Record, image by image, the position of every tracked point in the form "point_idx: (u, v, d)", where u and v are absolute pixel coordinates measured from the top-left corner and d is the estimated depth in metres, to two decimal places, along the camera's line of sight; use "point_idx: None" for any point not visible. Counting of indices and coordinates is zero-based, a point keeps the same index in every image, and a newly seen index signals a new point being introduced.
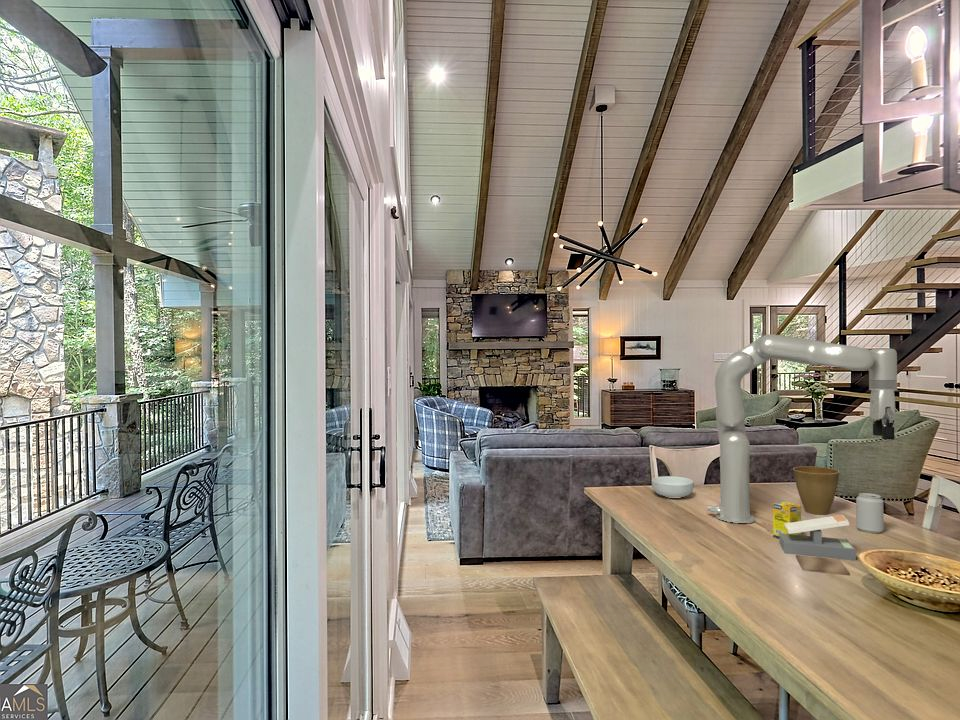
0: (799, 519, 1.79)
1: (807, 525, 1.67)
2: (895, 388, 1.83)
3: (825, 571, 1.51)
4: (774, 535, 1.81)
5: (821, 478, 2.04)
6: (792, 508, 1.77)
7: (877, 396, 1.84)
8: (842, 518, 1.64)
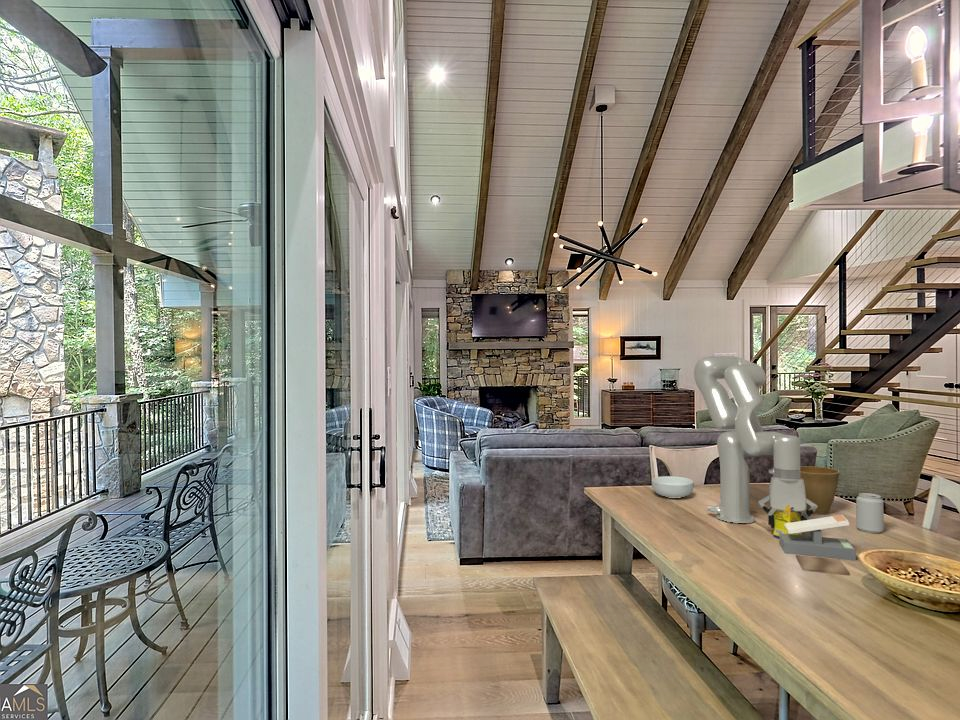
0: (799, 519, 1.78)
1: (807, 525, 1.67)
2: None
3: (825, 571, 1.51)
4: (774, 535, 1.81)
5: (821, 478, 2.04)
6: (792, 508, 1.77)
7: (801, 487, 1.77)
8: (842, 518, 1.64)
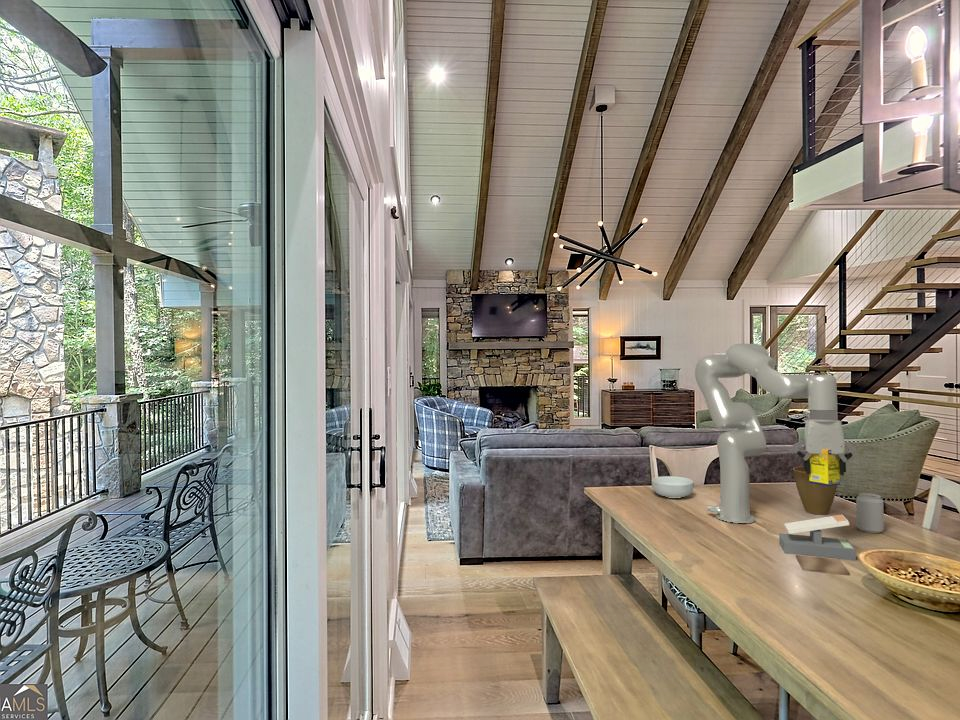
0: (837, 463, 1.68)
1: (807, 525, 1.67)
2: None
3: (825, 571, 1.51)
4: (810, 481, 1.70)
5: None
6: (830, 451, 1.67)
7: (839, 428, 1.66)
8: (842, 518, 1.64)
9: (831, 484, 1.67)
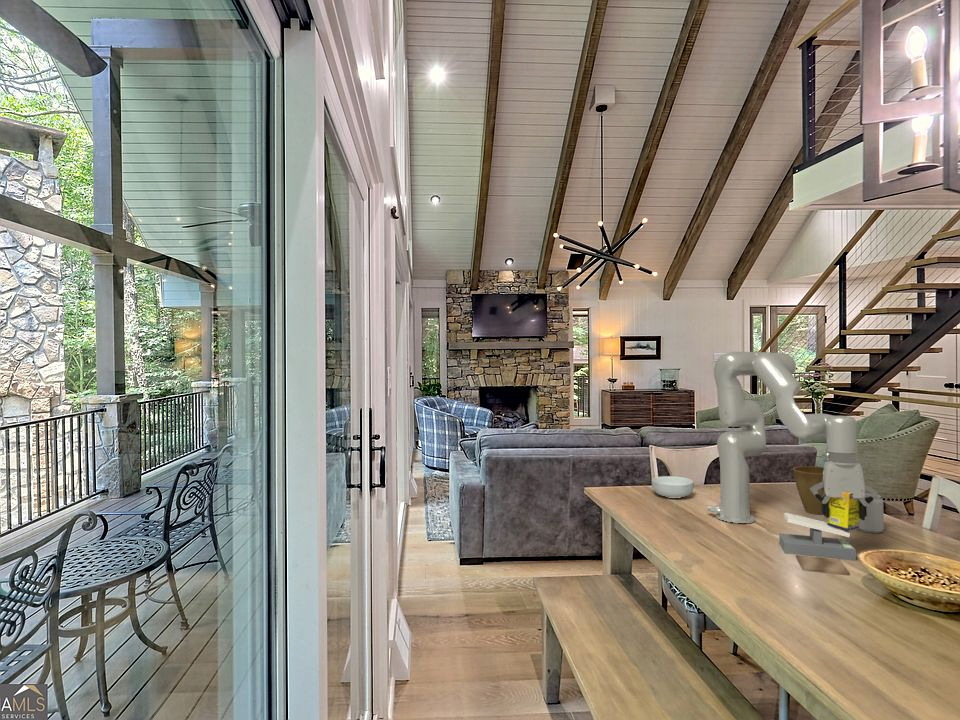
0: (858, 506, 1.63)
1: (808, 522, 1.67)
2: None
3: (825, 571, 1.51)
4: (829, 523, 1.66)
5: (821, 478, 2.04)
6: (851, 494, 1.62)
7: (859, 471, 1.62)
8: None
9: (850, 528, 1.62)
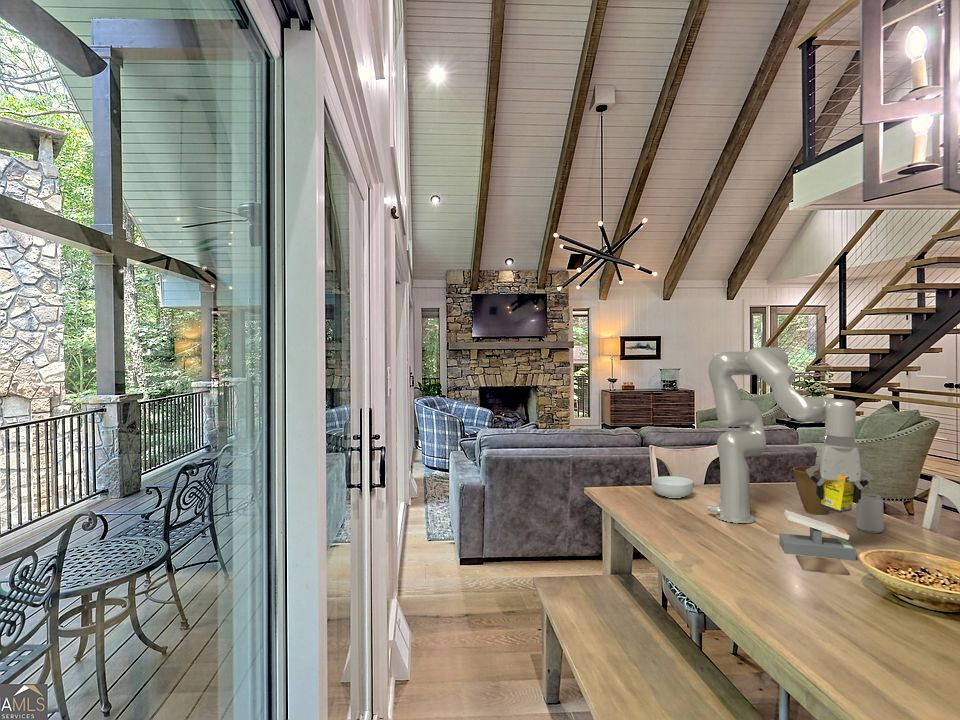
0: (852, 490, 1.65)
1: (808, 521, 1.67)
2: None
3: (825, 571, 1.51)
4: (822, 504, 1.68)
5: None
6: (847, 478, 1.63)
7: (856, 455, 1.62)
8: (844, 531, 1.64)
9: (843, 510, 1.64)
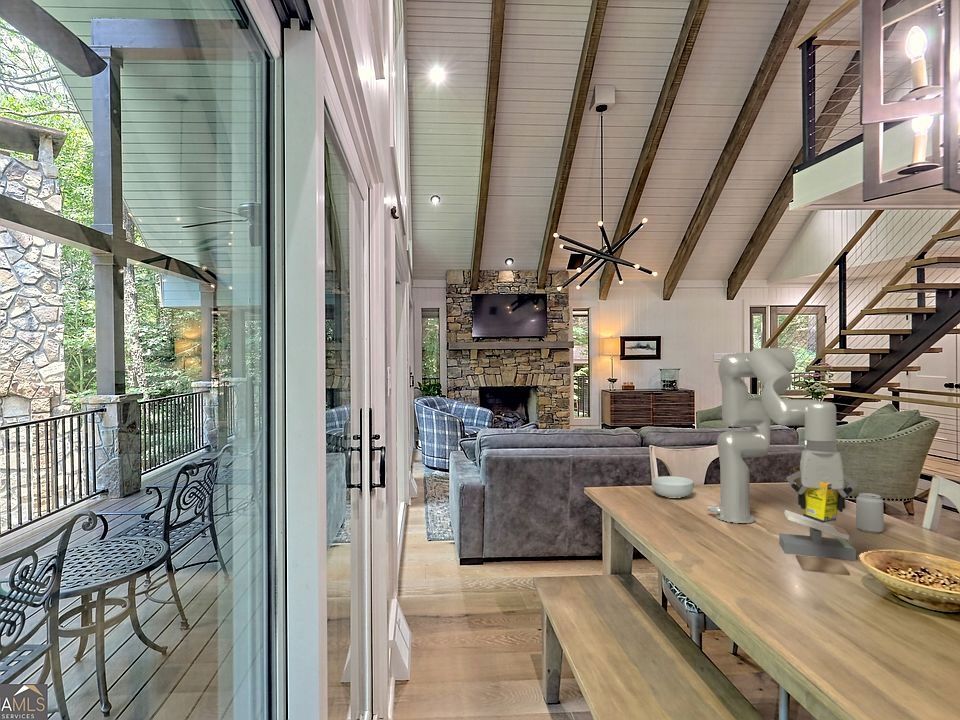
0: (836, 498, 1.54)
1: (808, 521, 1.67)
2: None
3: (825, 571, 1.51)
4: (804, 514, 1.57)
5: None
6: (830, 485, 1.52)
7: (838, 461, 1.52)
8: (844, 531, 1.64)
9: (827, 520, 1.54)
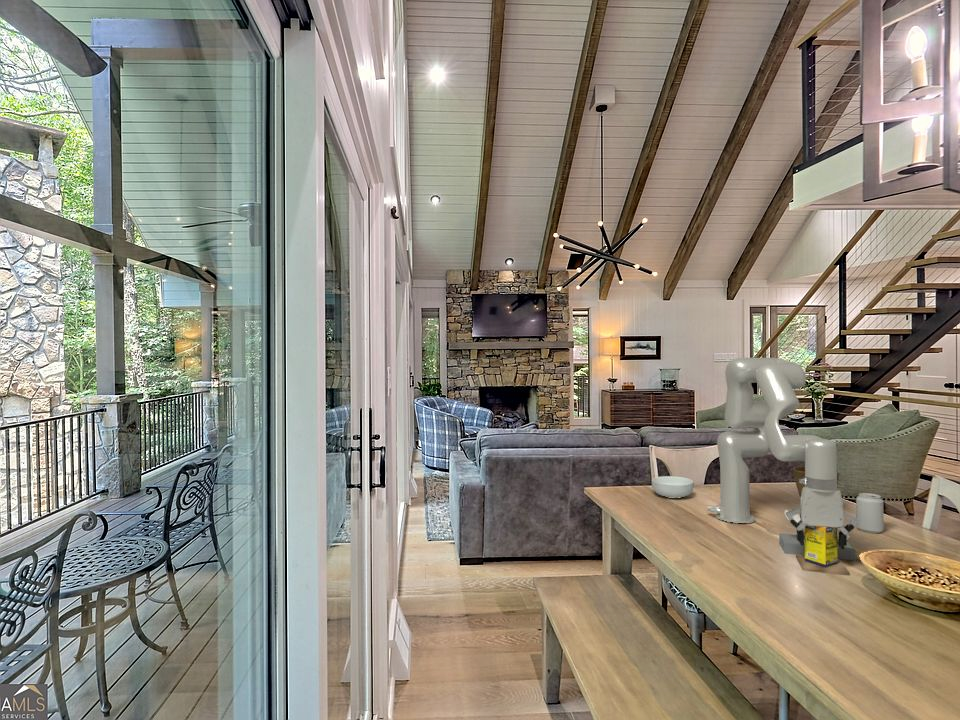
0: (835, 541, 1.55)
1: None
2: None
3: (825, 571, 1.51)
4: (806, 559, 1.57)
5: None
6: (828, 528, 1.53)
7: (838, 499, 1.52)
8: None
9: (829, 564, 1.54)
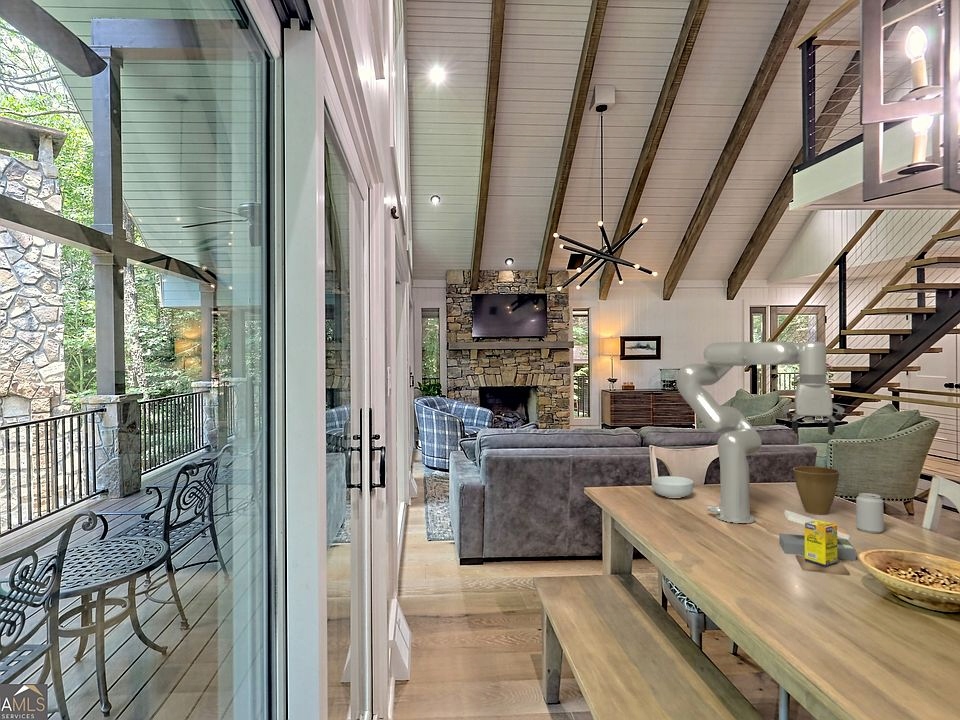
0: (835, 541, 1.55)
1: (808, 521, 1.67)
2: None
3: (825, 571, 1.51)
4: (806, 559, 1.57)
5: (821, 478, 2.04)
6: (828, 528, 1.53)
7: (827, 391, 1.77)
8: (844, 531, 1.64)
9: (829, 564, 1.54)
